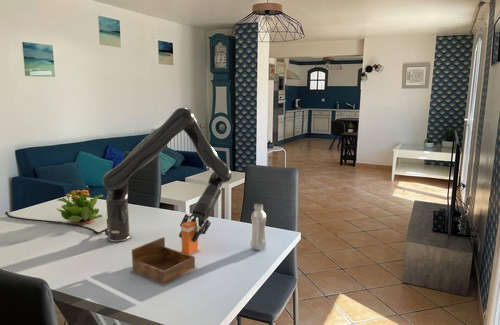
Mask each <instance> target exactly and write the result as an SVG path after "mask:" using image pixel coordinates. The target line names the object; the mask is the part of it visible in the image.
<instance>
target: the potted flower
mask: <svg viewBox="0 0 500 325" xmlns="http://www.w3.org/2000/svg"><path fill="white" fill-rule="evenodd" d="M65 196H66V197H61V198H58V199H57V201H58V202H63V203H65V204H62V205H61V206H60V207H61V209H60V208H58V207H56V210H57V211H58V212H60V214H61V217H62V218H63V219H64V220H66V221H70V222H73V224H78V225H82V226H84V225H87V224H88V225H89V224H91V223H93V222H94V220H95V219H99V218H102V217H103V215H102V214H99V211H100V209H99V208H96V207H95V206H96V204H97V203H98V199H99V198H102V197H104V195H103V194H99V195H95V196H94V197H93V198H92V197H91V198H90V191H89V190H87V189H82V190H79V189H76V190H71V191H70V193H66V194H65ZM70 198H71V199H70ZM88 198H90V199H88Z"/></svg>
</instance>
